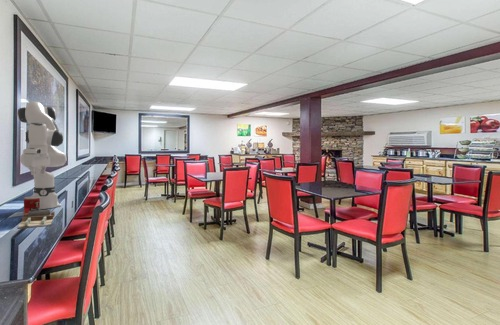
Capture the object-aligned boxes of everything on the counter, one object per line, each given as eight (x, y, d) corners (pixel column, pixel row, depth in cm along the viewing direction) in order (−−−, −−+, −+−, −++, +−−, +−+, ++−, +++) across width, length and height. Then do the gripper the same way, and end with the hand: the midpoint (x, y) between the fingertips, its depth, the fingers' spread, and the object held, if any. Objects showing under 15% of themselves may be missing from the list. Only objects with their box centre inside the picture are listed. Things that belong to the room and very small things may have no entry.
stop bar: (28, 218, 157) (28, 211, 157) (29, 217, 160) (29, 210, 160) (49, 217, 162) (49, 210, 162) (50, 215, 165) (50, 209, 165)
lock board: (26, 218, 162) (26, 212, 162) (55, 216, 170) (55, 210, 169) (17, 229, 142) (17, 222, 142) (50, 226, 149) (50, 219, 149)
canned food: (31, 216, 166) (31, 198, 166) (20, 215, 168) (20, 197, 167) (43, 213, 174) (43, 196, 173) (32, 212, 175) (32, 195, 175)
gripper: (41, 150, 170) (41, 173, 170) (21, 150, 150) (21, 175, 150) (53, 150, 171) (53, 173, 172) (34, 150, 151) (34, 175, 151)
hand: (38, 174), depth 161 cm, fingers open, 8 cm apart
